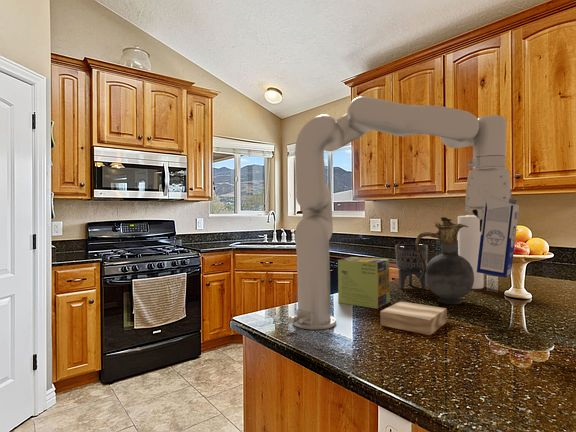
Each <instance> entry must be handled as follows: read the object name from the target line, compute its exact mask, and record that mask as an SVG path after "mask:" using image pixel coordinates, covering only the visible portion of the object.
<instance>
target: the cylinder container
mask: <svg viewBox="0 0 576 432" xmlns="http://www.w3.org/2000/svg"><path fill="white" fill-rule="evenodd" d="M457 224H463V225H466V226H468V227H462V228H461V229H459V231H458V234H457V255H459V256H461V257H463V258H465V259H466V260H467V261H468V262H469V263H470V265H471V267H472V269H473V272H474V283H473V287H472V288H471V290H476V289H477V290H478V289H479V290H480V289H483V288H484V286H485V285H484V274H483V273H478V272H477V264H478V255H479V246H480V237H481V232H480V220H479V219H478V217H477V216H476V215H474V214H467V215H458V216H457Z"/></svg>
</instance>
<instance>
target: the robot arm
mask: <svg viewBox="0 0 576 432" xmlns="http://www.w3.org/2000/svg"><path fill="white" fill-rule="evenodd" d="M370 131H373V132H374V131H375V132H379V133H385V134H388V135H392V136H396V137H397V136H398V137H409V136H413V135H428V136H435V137H440V141H441V142H442V144H443V145H445V147H448V148H452V149H459V148H465V147H466V148H467V147H472V159H471V160H470V161H467V162H466V167H470V168H471V170H469V172H468V174H467V180H466V186H465V187H466V188H465V189H466V190H465V202H464V203H465V207H464V211H465V213H470V214H472V215H474V216H477V217H478V219H479V220H480V232H481V228H482V219H483V211H484V202H485V196H488V197H491V198H496V199H499V200H502V201H505V202H508V203H510V198H511V199H513V198H512V183H511V175H510V171H509V168H506V164H507V163H506V161H507V160H506V158H507V154H506V153H507V151H506V150H507V120H506V118H505V116H501V115H499V114H498V115H484V116H481V117H477V116H476V115H474V114H473V113H471V112H470V111H466V110H462V109H458V108H453V107H448V106H443V105H442V106H441V105H428V104H427V105H426V104H422V105H421V104H405V103H400V102H395V101H392V100H391V101H390V100H385V99H380V98H375V97H370V96H364V95H363V96H357V97H356V98H354V99H352V100H351V101H350V103H349V105H348V107H347V113H346V114H343V115H342V116H341V117H339V118H337V119H335V118H334V117H332V116H331V115H328V114H320V115H316V116H314V117H313V118H311V119H309V120H308V121H307V122H306V123H305V124H304V125H303V126H302V128H301V129H300V130H299V133H298V134H297V138H296V141H295V146H294V147H295V148H294V159H295V160H294V161H295V198H296V203H297V204H298V205H299V207H301V211H302V212H301V213H302V218H301V219H300V220H299V222H298V223H297V225H296V227H295V233H294V240H295V241H294V243H295V250H296V269H297V270H296V271H297V276H296V277H297V278H296V279H297V309H296V311H295V312H296V313H295V314H294V315H292V316H289V317H288V318H287V319H288V323H289V324H290V325H291V324H292V325H294V326H295V327H297V328H299V329H305V330H311V331H314V330H315V331H317V330H326V329H330V328H333V327H335V326H336V324H337V319H336V318H335V317H334V316H333V315H331V308H332V307H331V266H330V262H331V261H330V244H329V241H330V240H331V238H332V236H333V232H334V231H333V228H334V227H333V225H334V224H333V207H332V204H333V203H332V194H331V190H330V188H329V186H328V185H327V184H326V177H325V176H326V175H325V174H326V173H325V171H326V170H325V165H326V164H325V157H324V156H325V155H324V154H325V152H335V151H337V150H339V149H341V148H343V147H345V146H346V145H348V144H350V143H352V142H354V141H355V140H358V139H359V138H361V137H362V136H365V134H367V133H369V132H370Z"/></svg>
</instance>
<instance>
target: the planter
mask: <svg viewBox="0 0 576 432" xmlns="http://www.w3.org/2000/svg"><path fill="white" fill-rule="evenodd" d="M428 247H429V246H428V244H422V243H421V244H420V243H419V249H420V254H421V256H422V258H423V260H424V262H425V265H426V268H427V265H428V251H429V250H428ZM394 250H395V262H396V263H395V264H396V265H395V266H396V269H397V270H398V287H399V289H401V290H403V289H404V286H405V283H406V280H407V278H408V286H413V276H415V277H417V279H418V280H419V279H420V278H421V276H422V274H423V272H424V265H423V263H422V261H421V259H420V257H419V255H418V253H417V250H416V243H402V244H395V245H394ZM425 273H426V272H425ZM419 282H420V286H421V289H422V290H424V289H425V290H426V289H427V282H426V276H425V274H424V275H423V277H422V279H421V280H420V281H419Z"/></svg>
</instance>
